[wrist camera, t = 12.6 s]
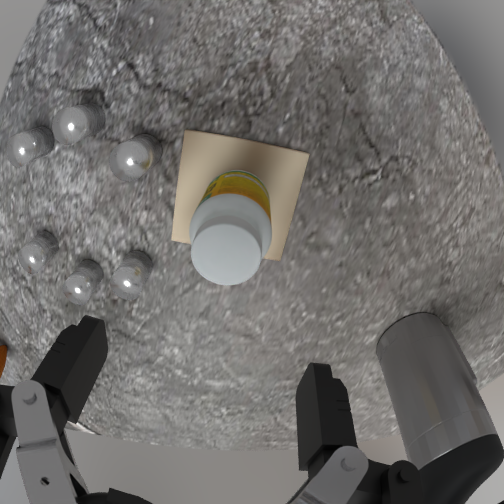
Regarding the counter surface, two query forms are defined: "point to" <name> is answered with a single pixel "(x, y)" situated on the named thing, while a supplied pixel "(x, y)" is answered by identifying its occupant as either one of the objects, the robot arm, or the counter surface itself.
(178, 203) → the pad
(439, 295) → the counter surface
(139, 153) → the spacer posts
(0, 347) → the carrot
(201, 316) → the counter surface
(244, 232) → the supplement bottle
